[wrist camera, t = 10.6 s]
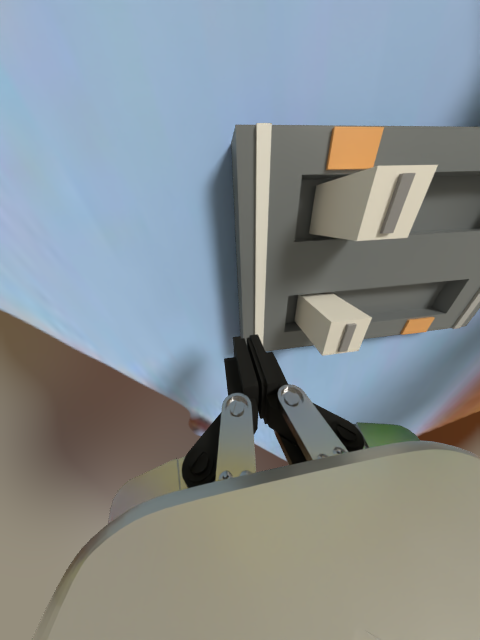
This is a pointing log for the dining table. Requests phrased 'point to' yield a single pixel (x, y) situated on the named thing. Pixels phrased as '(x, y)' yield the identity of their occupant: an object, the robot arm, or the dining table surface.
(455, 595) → the robot arm
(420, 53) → the dining table surface
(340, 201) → the tab
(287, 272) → the switch board
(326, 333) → the tab
